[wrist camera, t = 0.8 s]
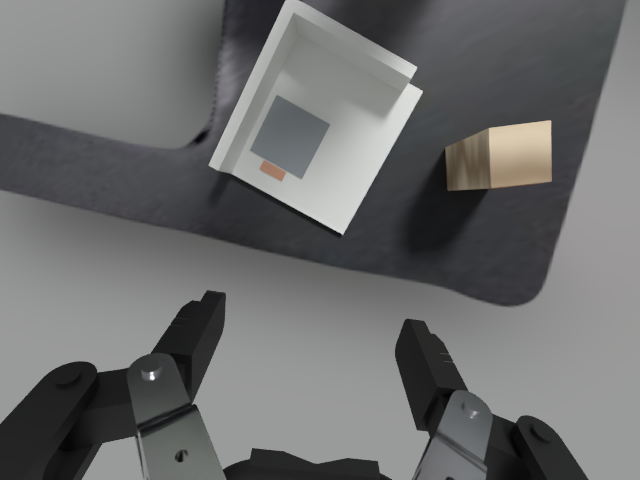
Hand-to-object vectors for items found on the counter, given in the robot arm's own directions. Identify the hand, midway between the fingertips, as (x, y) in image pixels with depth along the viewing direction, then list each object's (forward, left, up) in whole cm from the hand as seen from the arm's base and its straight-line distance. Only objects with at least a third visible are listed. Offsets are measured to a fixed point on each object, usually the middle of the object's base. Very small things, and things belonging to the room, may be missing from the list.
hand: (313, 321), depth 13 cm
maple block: (-16, +10, -24) cm, 31 cm away
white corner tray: (-11, -7, -24) cm, 27 cm away
